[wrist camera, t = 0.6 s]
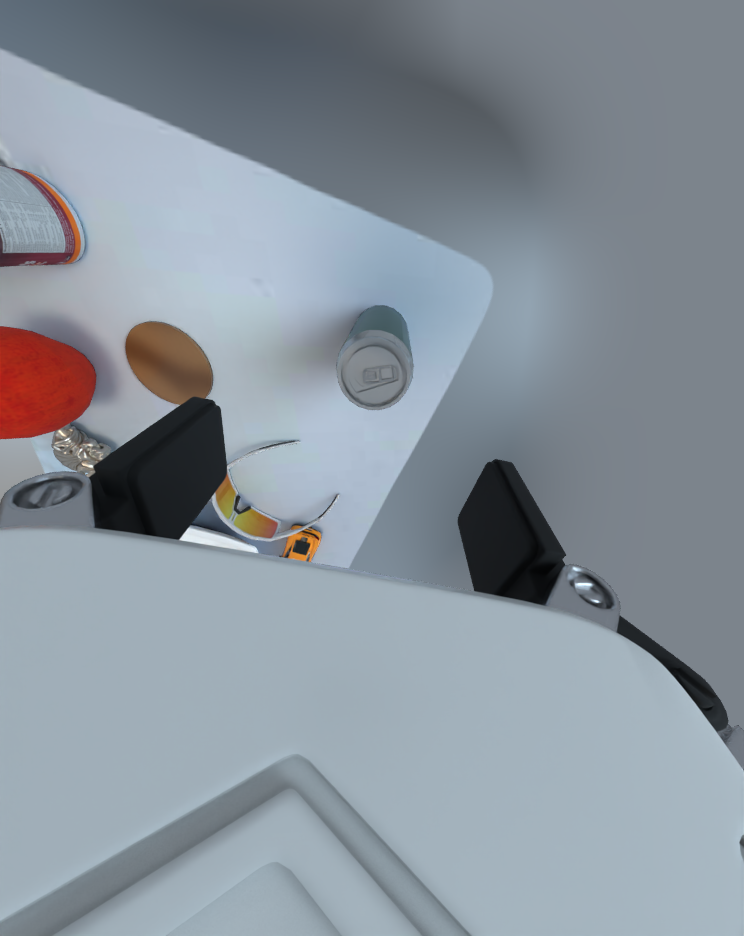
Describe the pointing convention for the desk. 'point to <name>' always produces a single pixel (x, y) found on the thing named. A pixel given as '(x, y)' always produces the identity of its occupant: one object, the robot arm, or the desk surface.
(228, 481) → the sunglasses
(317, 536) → the toy car
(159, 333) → the coaster
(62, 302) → the desk surface
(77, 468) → the ornament
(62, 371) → the apple
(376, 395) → the beer can
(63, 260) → the pill bottle
